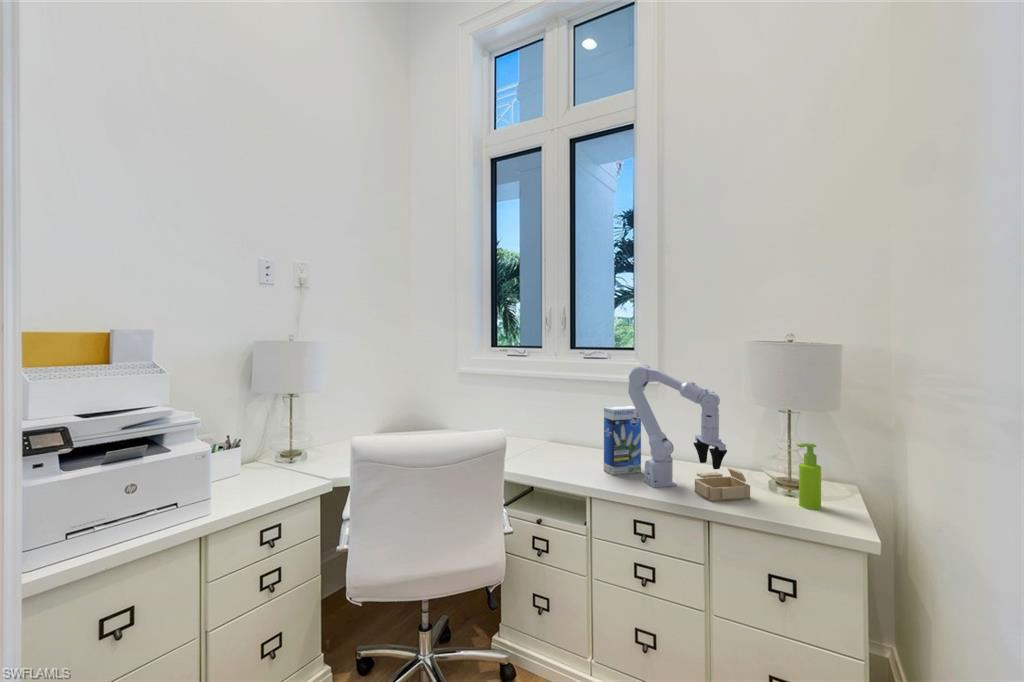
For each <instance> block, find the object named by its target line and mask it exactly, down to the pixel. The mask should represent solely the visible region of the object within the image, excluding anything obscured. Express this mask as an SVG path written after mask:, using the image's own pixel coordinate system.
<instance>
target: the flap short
mask: <svg viewBox="0 0 1024 682" xmlns="http://www.w3.org/2000/svg"><path fill="white" fill-rule="evenodd" d="M727 470H728V472H729V475H730V476H731V477H733V478H735V479H737V480H739V481H741V482H744V483H747V479H746V477H745V475H744V474H743V472H742V471H740V470H738V469H735V468H733V467H730V466H729V467H727Z"/></svg>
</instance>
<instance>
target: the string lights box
mask: <svg viewBox="0 0 1024 682" xmlns="http://www.w3.org/2000/svg"><path fill="white" fill-rule="evenodd" d="M603 471H604V472H606V473H608V474H610V475H612V476H617V475H618V474H619V475H627V473H629V474H636V472H638V473H642V421H641V419H640V417H639V415H638V413H637V410H636V408H635V406H634V405H627V406H625V405H621V406H618V405H617V406H608V407H607V406H604V407H603Z"/></svg>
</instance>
